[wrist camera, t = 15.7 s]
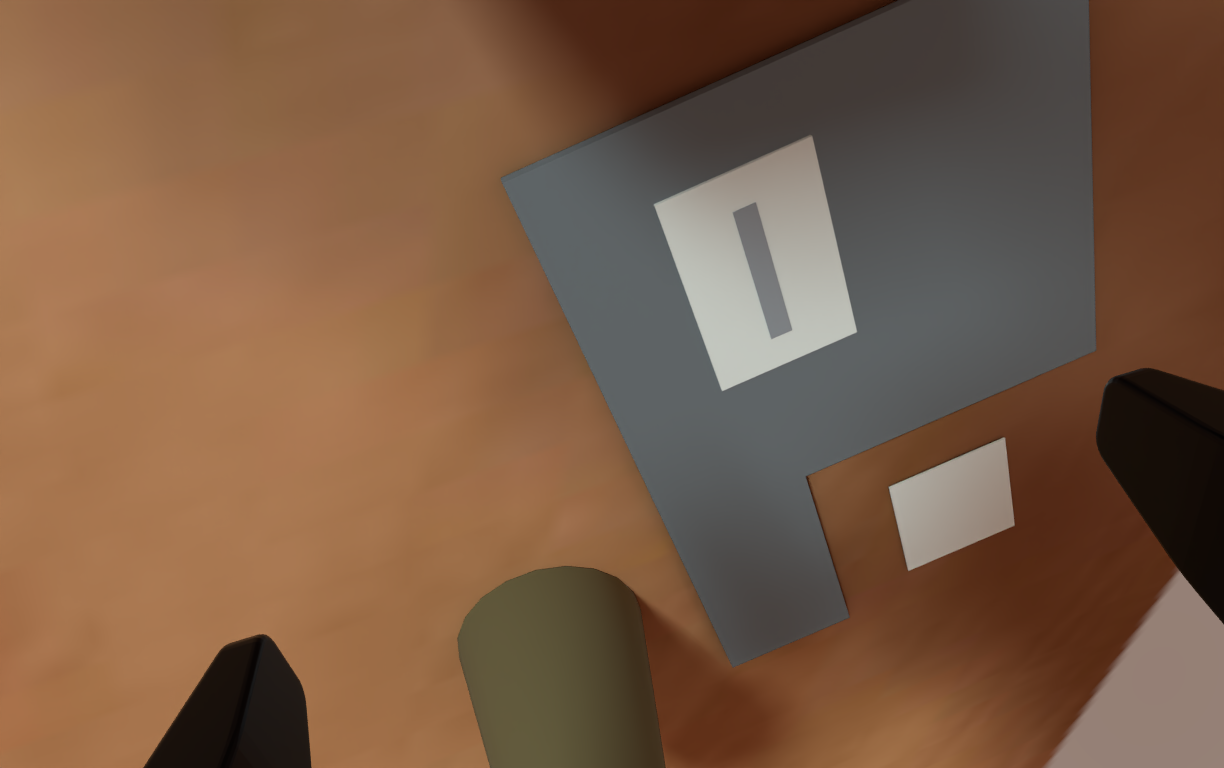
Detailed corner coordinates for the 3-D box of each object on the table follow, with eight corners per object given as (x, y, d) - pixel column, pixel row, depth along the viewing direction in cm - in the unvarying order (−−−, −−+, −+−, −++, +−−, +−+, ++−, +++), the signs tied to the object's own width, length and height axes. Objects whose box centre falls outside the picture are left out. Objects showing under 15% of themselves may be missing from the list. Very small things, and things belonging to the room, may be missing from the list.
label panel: (500, 177, 20) (503, 185, 20) (1078, -81, 20) (1091, -77, 20) (730, 660, 32) (734, 670, 32) (1094, 505, 32) (1102, 513, 32)
